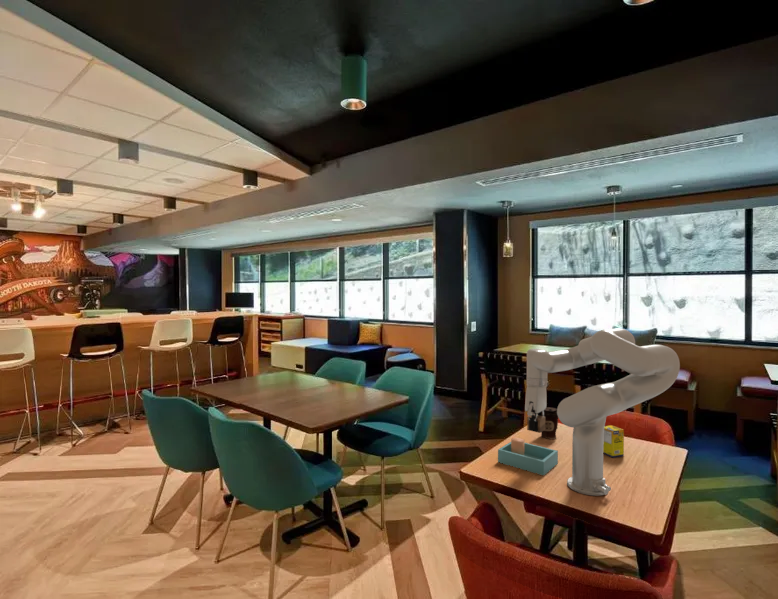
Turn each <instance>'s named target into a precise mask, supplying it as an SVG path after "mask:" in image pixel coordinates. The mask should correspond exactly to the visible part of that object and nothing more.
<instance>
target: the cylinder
mask: <svg viewBox="0 0 778 599" xmlns="http://www.w3.org/2000/svg"><path fill="white" fill-rule="evenodd" d="M510 442H511V452H513V453H517V454H520V455H524V443H525V439H523V438H520V437H513V438H511V440H510Z"/></svg>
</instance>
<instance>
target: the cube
mask: <svg viewBox="0 0 778 599" xmlns="http://www.w3.org/2000/svg"><path fill="white" fill-rule="evenodd" d="M533 415H534V417H535V414H533ZM526 421H527V422H526V426H527V427H526V430H527V431H529V432H530V431H531V430H529V416H528V415H527V417H526ZM537 421H538V431H537V432H535V431H533V432H534V433H537V434H538V433H539V434H541V432H542V431H544V430H545V416H540V415H538V416H537ZM531 432H532V431H531Z"/></svg>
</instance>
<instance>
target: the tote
mask: <svg viewBox="0 0 778 599" xmlns="http://www.w3.org/2000/svg"><path fill="white" fill-rule="evenodd" d="M558 455H559V451H558V450H555V449H553V448H548V447H544V446H540V445H536V444H532V443H528V442H524V455H520V454H517V453H513V452H511V441H510V442H508V443H507V444H505V445H503V446H502V447H501V446H500V448H498V449H497V462H498V463H499V462H500V463H499V464H502V463H503V465H506V466H509V465H510V467H512V466H513V468H517V469H519V468H520V470H522V471H523V470H524V471H526V470H527V472H530V473H533V474H536V473H537V475H540V476H543V475H544V476H546V475H547V474H548V473H549V472H550V471H552V469H553V468H554V467H556V466H557V465H558V463H559V456H558ZM555 465H556V466H555Z"/></svg>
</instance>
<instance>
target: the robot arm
mask: <svg viewBox="0 0 778 599" xmlns="http://www.w3.org/2000/svg"><path fill="white" fill-rule="evenodd" d="M602 361H606V362H608V363H609V364H611V365H614V366H615V367H617V368H619V369H621V370H622V371H624V372H627V373H628V374H629V375H626V376H624V377H622V378H620V379H618V380H616V381H612V382H606V383H601V384H597V385H592V386H589V387H587V388H584V389H582V390H581V391H577V393H574V394H572V395H570V396H568V397H565V398H563V399H562V400H561V401H560V402H559V403H558V406H557V408H556V409H557V415H558V421H560V422H561V424H563V425H565V426H567V427H568V428H572V429H573V430H572V449H571V451H572V454H571V455H572V456H571V458H572V461H571V464H572V467H571V468H572V469H571V470H572V474H571V477H568V479H567V481H566V482H567V483H566V484H567V486H568V487H569V488H570V489H571V490H572V491H574V492H576V493H579V494H582V495H585V496H593V497H594V496H604V495H605V496H606V495H608V494H609V492H611V490H612V487H611V486H609V485H607V483H606V478H605V477H604V454H603V444H604V427H605V426H606V420H607V417H608V416H612V415H616V414H619V413H621V412H623V411H626V410H627V409H629V408H632V407H634V406H637V405H639V404H642V403H643V402H645V401H649V400H651V399H653V398H655V397H657V396H659V395H661V394H662V393H664V392H665V391H667V390H668V389H669V388H671V387H672V385H674V383H675V382H676V380H677V378H678V377H679V374H680V370H681V369H680V368H681V363H680V358H679V356H678V354H677V352H676V351H675V350H674V349H673V348H671V347H669V346H667V345H662V344H649V345H642V346H639V345H637V344H636V340H635V336H634V335H633V334H632V332H630V331H629V330H627V329H625V328H608V329H602V330H600V329H599V330H598V331H596V332H595V333H594V334H593V335H592V336H589V337H587V338H583V339H581V340H580V341H579V342H578V345H576V346H573V347H572V346H571V347H569V348H566V349H561V350H552V351H547V350H546V349H544V348H543V349H542V348H530V349H528V350H527V351H526V389H525V390H526V391H525V402H524V403H525V404H524V411H525V412H526V413H527V414H526V415H527V417H528V416H529V430H531V432H534V431H535V432H534V433H538V432H537V431H538V421H537V416H538V415H540V416H544V411H545V410H544V409H546V407H547V404H548V403H547V397H548V396H547V387H548V374H549V373H558V372H565V371H569V370H573V369H577V368H582V367H584V366H589V365H592V364H595V363H600V362H602ZM533 414H535V417H534V415H533ZM529 430H528V431H529Z"/></svg>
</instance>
